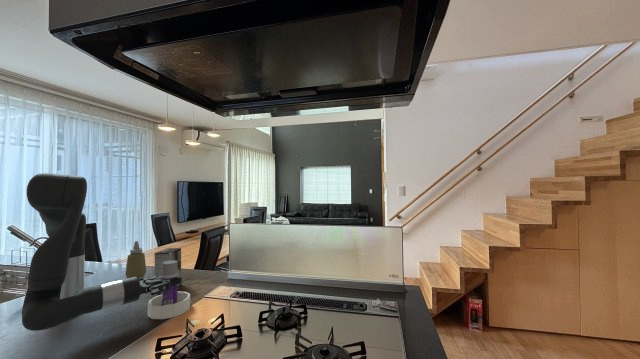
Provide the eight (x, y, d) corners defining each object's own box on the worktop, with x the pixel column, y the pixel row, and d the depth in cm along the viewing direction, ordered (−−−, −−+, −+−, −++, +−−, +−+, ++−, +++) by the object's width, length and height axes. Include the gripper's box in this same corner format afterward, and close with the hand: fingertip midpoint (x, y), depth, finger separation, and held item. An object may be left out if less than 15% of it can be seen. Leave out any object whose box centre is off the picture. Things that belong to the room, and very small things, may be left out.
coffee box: (167, 284, 117) (167, 247, 118) (181, 284, 117) (181, 247, 117) (153, 292, 108) (154, 252, 108) (169, 292, 108) (169, 252, 108)
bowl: (144, 322, 83) (144, 309, 84) (151, 306, 95) (151, 295, 95) (189, 314, 88) (189, 302, 89) (190, 299, 100) (190, 289, 100)
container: (180, 304, 93) (180, 260, 94) (168, 309, 89) (169, 264, 89) (170, 302, 95) (170, 259, 95) (158, 307, 90) (159, 263, 91)
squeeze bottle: (138, 283, 119) (138, 242, 119) (120, 283, 119) (121, 243, 119) (150, 277, 127) (150, 239, 127) (133, 277, 127) (134, 239, 127)
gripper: (126, 285, 77) (186, 271, 90) (114, 275, 86) (170, 264, 99) (125, 312, 76) (186, 294, 89) (113, 298, 86) (170, 284, 99)
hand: (177, 278), depth 94 cm, fingers open, 5 cm apart
